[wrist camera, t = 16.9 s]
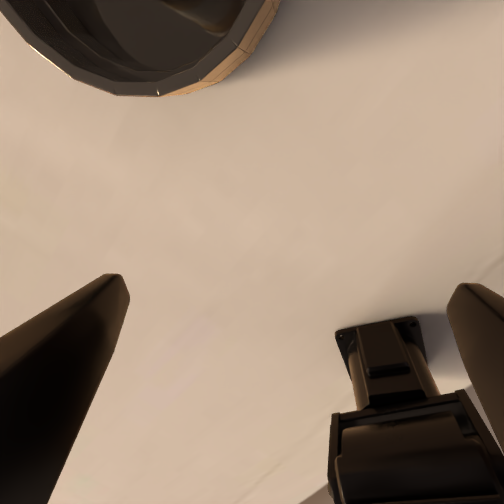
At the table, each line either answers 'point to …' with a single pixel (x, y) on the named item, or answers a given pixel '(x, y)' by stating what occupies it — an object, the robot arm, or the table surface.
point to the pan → (143, 40)
